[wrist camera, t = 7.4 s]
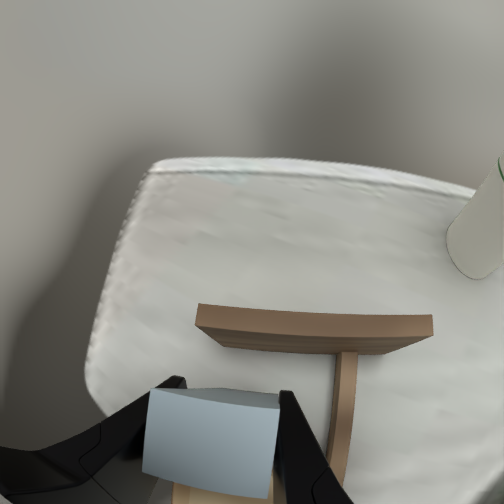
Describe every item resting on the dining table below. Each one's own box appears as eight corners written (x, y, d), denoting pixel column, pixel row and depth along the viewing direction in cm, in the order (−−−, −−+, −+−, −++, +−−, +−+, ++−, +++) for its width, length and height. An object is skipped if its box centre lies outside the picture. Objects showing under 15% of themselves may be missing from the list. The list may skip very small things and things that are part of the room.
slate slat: (273, 434, 13) (267, 498, 4) (216, 427, 13) (141, 471, 5) (278, 394, 14) (280, 408, 6) (222, 387, 14) (150, 387, 6)
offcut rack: (359, 523, 12) (389, 566, 5) (173, 509, 14) (131, 547, 7) (384, 340, 20) (432, 314, 13) (195, 328, 22) (156, 298, 15)
